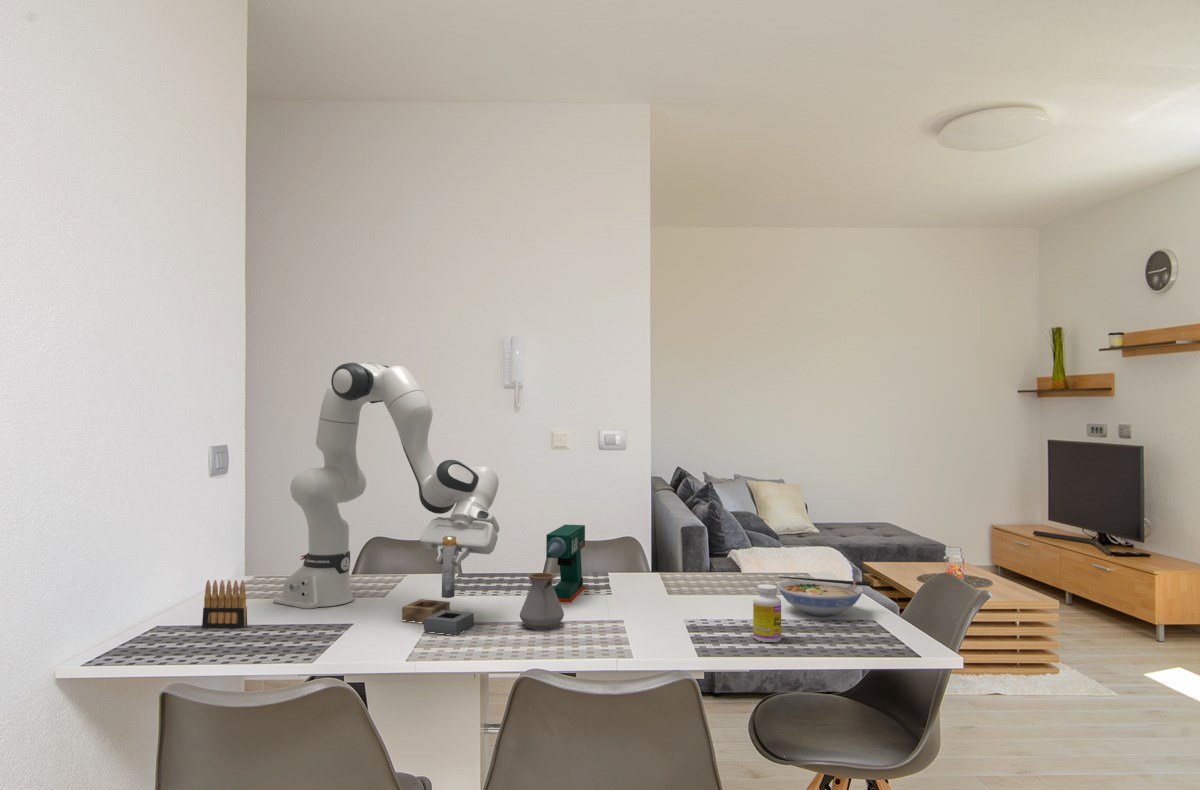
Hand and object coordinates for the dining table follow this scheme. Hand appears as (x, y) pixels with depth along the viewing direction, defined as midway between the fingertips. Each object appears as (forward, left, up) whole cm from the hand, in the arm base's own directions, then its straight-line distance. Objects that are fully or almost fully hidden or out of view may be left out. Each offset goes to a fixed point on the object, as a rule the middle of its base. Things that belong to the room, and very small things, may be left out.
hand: (447, 563), depth 190 cm
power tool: (+16, +39, -17) cm, 45 cm away
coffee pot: (+23, +8, -17) cm, 30 cm away
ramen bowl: (+88, +49, -17) cm, 102 cm away
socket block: (0, +1, -17) cm, 17 cm away
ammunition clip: (-55, -16, -17) cm, 60 cm away
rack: (-11, +8, -17) cm, 21 cm away
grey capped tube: (0, +1, -8) cm, 8 cm away
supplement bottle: (+77, +19, -17) cm, 81 cm away
